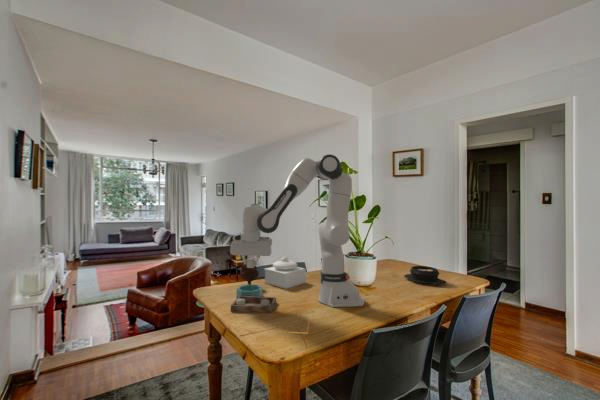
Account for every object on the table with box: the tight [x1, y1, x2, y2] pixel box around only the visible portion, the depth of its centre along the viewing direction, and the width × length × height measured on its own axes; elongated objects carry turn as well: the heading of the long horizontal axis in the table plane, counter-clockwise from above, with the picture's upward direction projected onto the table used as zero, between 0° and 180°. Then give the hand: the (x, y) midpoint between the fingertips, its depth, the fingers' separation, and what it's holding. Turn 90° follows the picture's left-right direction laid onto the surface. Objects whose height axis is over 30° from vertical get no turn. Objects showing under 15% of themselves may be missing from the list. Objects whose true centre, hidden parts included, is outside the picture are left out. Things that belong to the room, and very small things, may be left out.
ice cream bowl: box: [239, 263, 260, 285], centre depth 161 cm, size 11×11×15 cm
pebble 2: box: [246, 258, 256, 268], centre depth 142 cm, size 4×4×4 cm
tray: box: [230, 296, 277, 314], centre depth 131 cm, size 18×13×3 cm
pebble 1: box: [236, 298, 245, 305], centre depth 129 cm, size 4×4×4 cm
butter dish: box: [263, 256, 307, 290], centre depth 173 cm, size 18×18×16 cm
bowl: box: [236, 283, 263, 299], centre depth 146 cm, size 12×12×5 cm
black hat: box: [403, 265, 447, 285], centre depth 178 cm, size 25×19×8 cm
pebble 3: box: [261, 299, 269, 306], centre depth 128 cm, size 4×4×4 cm
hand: (250, 264), depth 142 cm, fingers closed on pebble 2, 4 cm apart
